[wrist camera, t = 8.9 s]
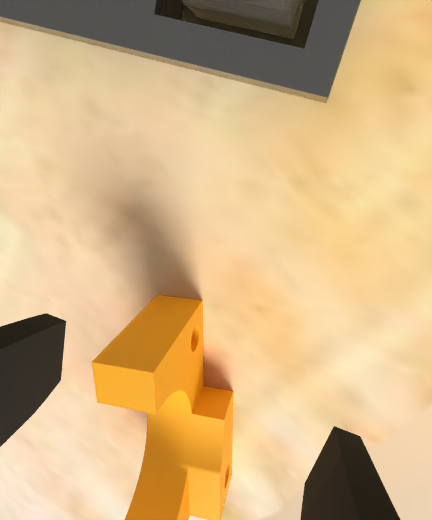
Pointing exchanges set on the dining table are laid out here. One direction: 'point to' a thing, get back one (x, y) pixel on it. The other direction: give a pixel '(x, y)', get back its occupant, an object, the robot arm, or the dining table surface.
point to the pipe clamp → (171, 411)
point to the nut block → (252, 14)
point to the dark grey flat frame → (198, 40)
